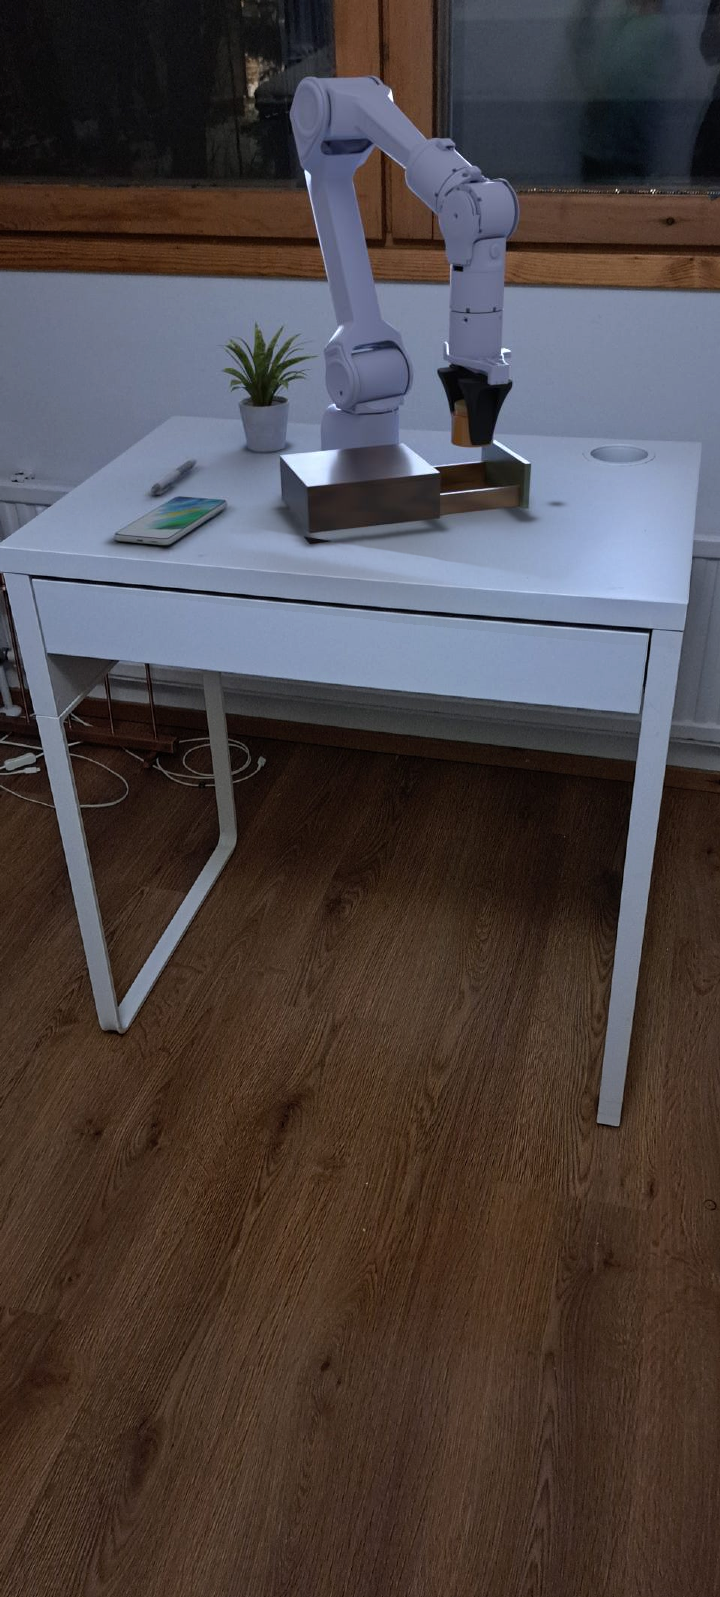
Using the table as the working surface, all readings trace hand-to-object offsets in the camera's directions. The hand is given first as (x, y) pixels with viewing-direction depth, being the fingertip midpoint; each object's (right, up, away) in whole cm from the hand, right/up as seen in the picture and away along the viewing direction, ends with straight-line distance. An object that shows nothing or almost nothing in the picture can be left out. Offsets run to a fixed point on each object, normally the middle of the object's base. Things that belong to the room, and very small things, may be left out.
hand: (472, 438), depth 131 cm
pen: (-36, 0, +18) cm, 40 cm away
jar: (0, 0, 0) cm, 0 cm away
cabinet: (-13, -8, +4) cm, 16 cm away
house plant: (-26, +8, +30) cm, 41 cm away
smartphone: (-34, -9, +3) cm, 36 cm away
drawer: (-2, -6, +6) cm, 9 cm away
